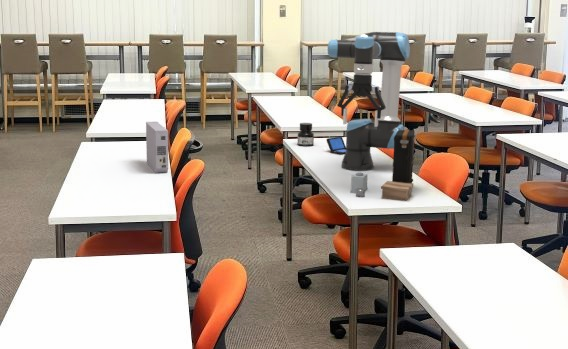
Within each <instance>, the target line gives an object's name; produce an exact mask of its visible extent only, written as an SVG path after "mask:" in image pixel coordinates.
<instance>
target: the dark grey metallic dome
mask: <svg viewBox="0 0 568 349" xmlns="http://www.w3.org/2000/svg"><path fill="white" fill-rule="evenodd" d="M355 196H356V198H365V197H366V191H365V189H362V188H358V189H356V193H355Z"/></svg>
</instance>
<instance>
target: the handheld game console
mask: <svg viewBox="0 0 568 349" xmlns="http://www.w3.org/2000/svg"><path fill="white" fill-rule="evenodd" d="M326 143H327V146H328V148H329V152H330V154H335V155H339V156H341V155H342V156H344V155H345V153H346V143H345V141H344V139H343V137H342V136H335V137H329V138H326Z"/></svg>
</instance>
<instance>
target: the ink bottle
mask: <svg viewBox="0 0 568 349" xmlns="http://www.w3.org/2000/svg"><path fill="white" fill-rule="evenodd" d="M314 135H315V133H314V132H313V123H311V122H300V123H299V131H298V133H297V145H298V146H299V147H312V146H314V143H315V142H314V138H315V136H314Z"/></svg>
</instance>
